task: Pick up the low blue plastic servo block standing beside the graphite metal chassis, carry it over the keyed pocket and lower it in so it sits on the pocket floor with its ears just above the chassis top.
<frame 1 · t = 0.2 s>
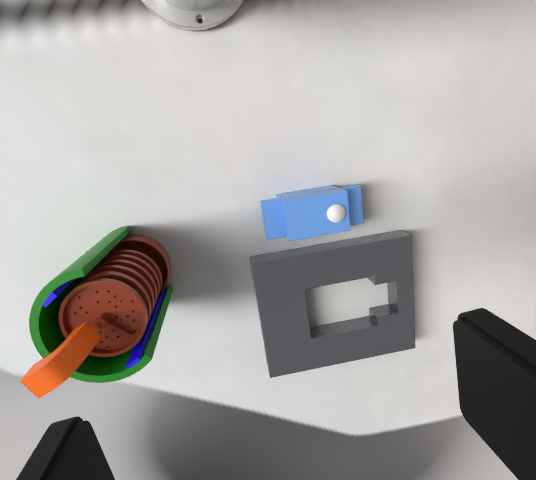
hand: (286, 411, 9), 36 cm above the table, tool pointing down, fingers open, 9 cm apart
servo: (306, 207, 45), on the table
chassis: (332, 299, 49), on the table
motor: (135, 268, 44), on the table
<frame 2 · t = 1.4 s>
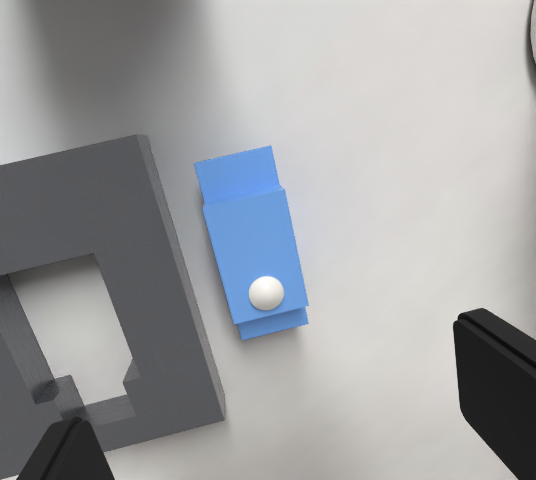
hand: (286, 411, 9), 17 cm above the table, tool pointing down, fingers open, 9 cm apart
servo: (251, 235, 26), on the table
chassis: (77, 306, 25), on the table
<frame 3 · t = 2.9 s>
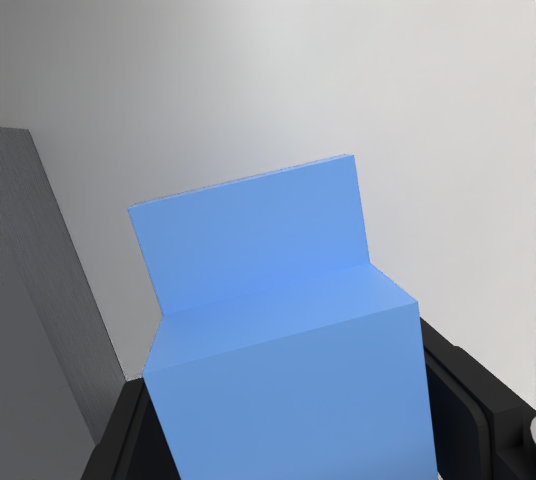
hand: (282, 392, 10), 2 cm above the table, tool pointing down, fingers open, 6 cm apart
servo: (278, 343, 12), on the table
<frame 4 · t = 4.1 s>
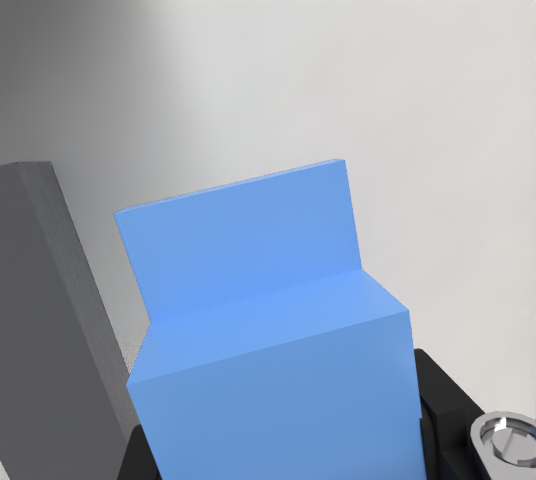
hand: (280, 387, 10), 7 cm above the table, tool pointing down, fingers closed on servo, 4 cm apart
servo: (271, 348, 12), point 5 cm above the table, touching gripper
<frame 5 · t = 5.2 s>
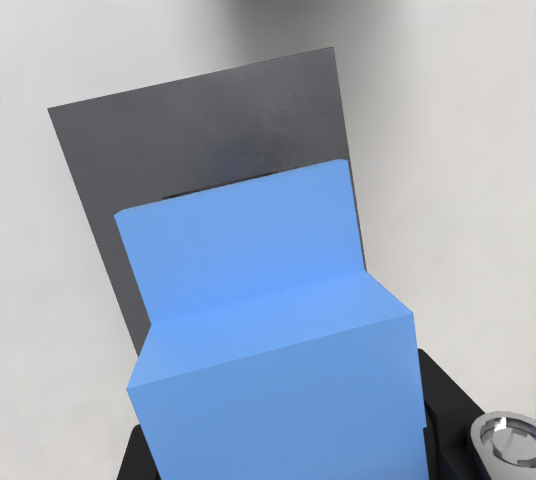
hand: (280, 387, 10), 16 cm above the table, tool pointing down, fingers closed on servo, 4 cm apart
servo: (272, 350, 12), point 14 cm above the table, touching gripper
chassis: (234, 236, 25), on the table
when the fingers open (4 cm above the table, at t = 6.9 s): servo drops 2 cm, resting in chassis.
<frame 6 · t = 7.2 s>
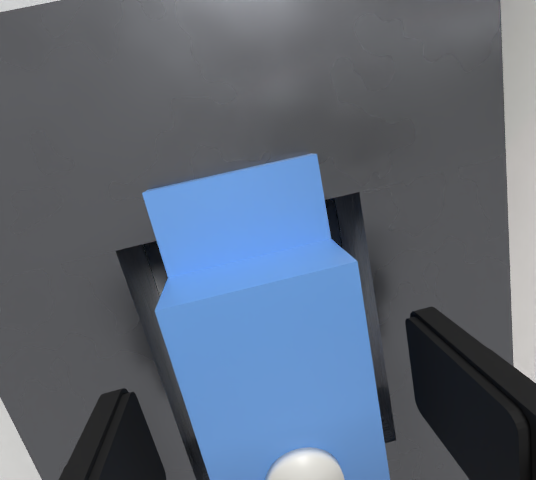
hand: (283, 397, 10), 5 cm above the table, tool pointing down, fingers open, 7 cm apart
servo: (263, 314, 14), resting in chassis
chassis: (261, 306, 14), on the table
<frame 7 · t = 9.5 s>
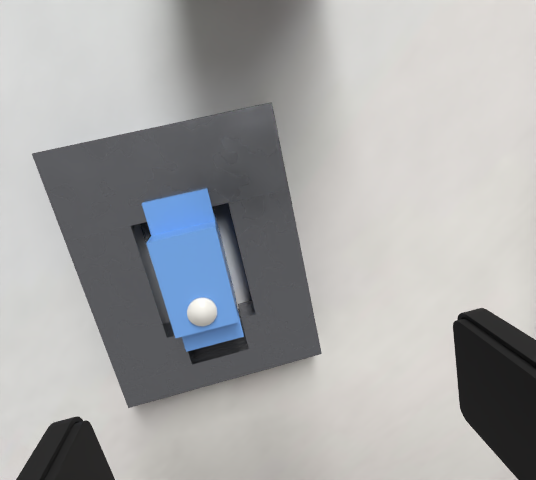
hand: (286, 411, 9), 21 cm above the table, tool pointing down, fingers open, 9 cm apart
servo: (198, 260, 30), resting in chassis
chassis: (196, 256, 29), on the table
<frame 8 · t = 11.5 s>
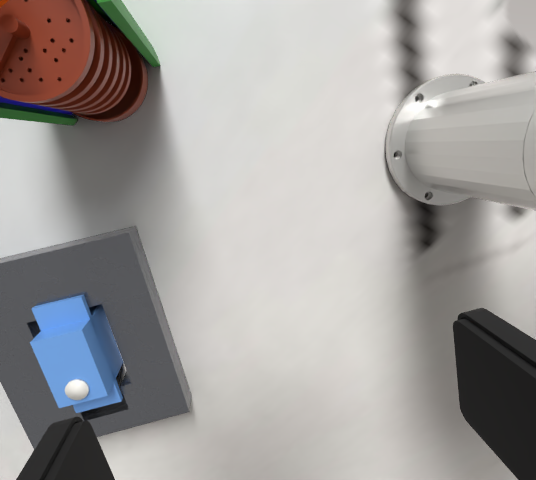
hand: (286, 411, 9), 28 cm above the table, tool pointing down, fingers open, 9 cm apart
servo: (91, 338, 38), resting in chassis
chassis: (89, 335, 38), on the table
motor: (97, 71, 32), on the table
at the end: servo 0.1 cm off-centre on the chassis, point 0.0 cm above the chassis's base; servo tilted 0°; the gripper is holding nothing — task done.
